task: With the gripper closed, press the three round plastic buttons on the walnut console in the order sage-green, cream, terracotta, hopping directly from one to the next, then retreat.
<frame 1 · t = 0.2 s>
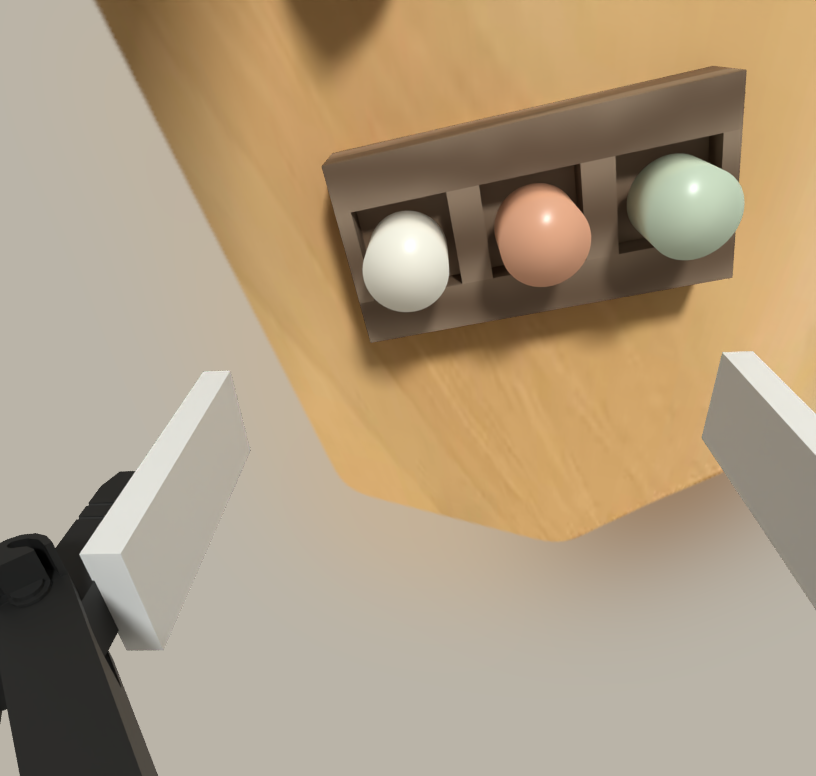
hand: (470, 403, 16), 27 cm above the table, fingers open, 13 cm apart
button terracotta: (539, 234, 34), point 7 cm above the table, slide at 0.0 cm
button cream: (407, 260, 36), point 7 cm above the table, slide at 0.0 cm
button sage: (681, 206, 33), point 7 cm above the table, slide at 0.0 cm
console: (524, 205, 40), on the table
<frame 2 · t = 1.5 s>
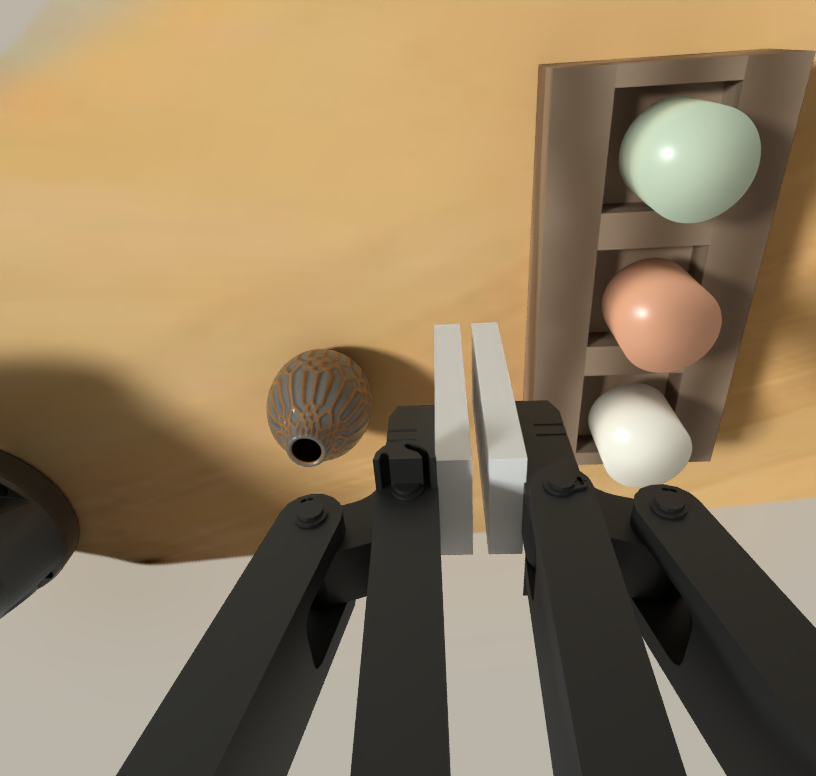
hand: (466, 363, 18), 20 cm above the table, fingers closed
vase: (328, 376, 42), on the table
button terracotta: (657, 314, 32), point 7 cm above the table, slide at 0.0 cm
button cream: (637, 434, 36), point 7 cm above the table, slide at 0.0 cm
button sage: (684, 158, 28), point 7 cm above the table, slide at 0.0 cm
console: (623, 272, 37), on the table
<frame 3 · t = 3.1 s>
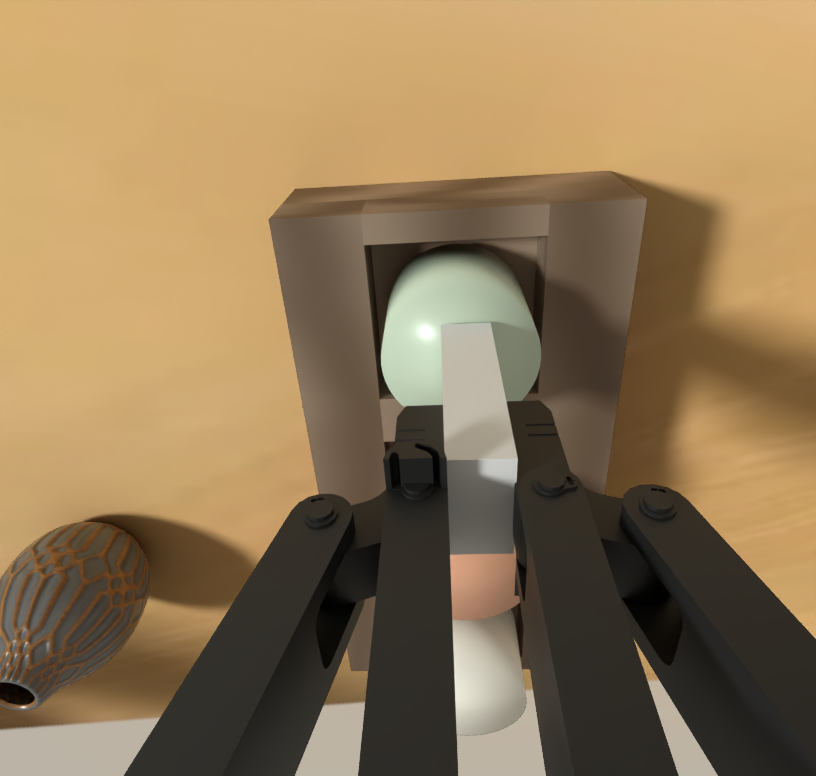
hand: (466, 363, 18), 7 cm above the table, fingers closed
vase: (107, 544, 33), on the table
button terracotta: (463, 534, 23), point 7 cm above the table, slide at 0.0 cm
button cream: (465, 661, 27), point 7 cm above the table, slide at 0.0 cm
button sage: (457, 333, 20), point 5 cm above the table, slide at 1.5 cm
console: (456, 435, 29), on the table
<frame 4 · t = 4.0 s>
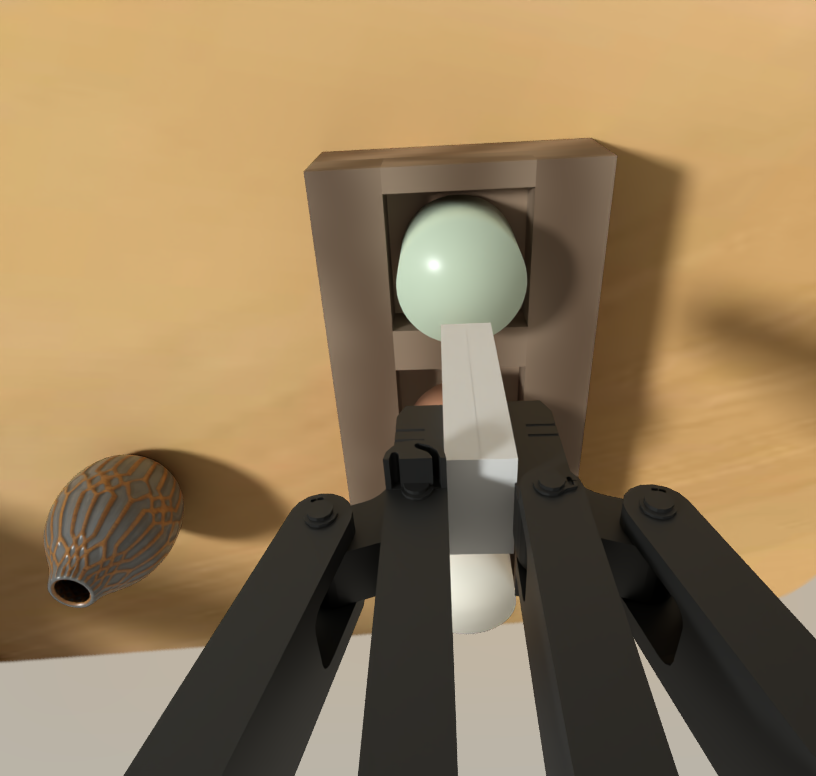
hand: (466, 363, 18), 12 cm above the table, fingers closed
vase: (145, 478, 37), on the table
button terracotta: (462, 449, 27), point 7 cm above the table, slide at 0.0 cm
button cream: (463, 570, 31), point 7 cm above the table, slide at 0.0 cm
button sage: (459, 267, 24), point 5 cm above the table, slide at 1.8 cm
console: (457, 376, 32), on the table
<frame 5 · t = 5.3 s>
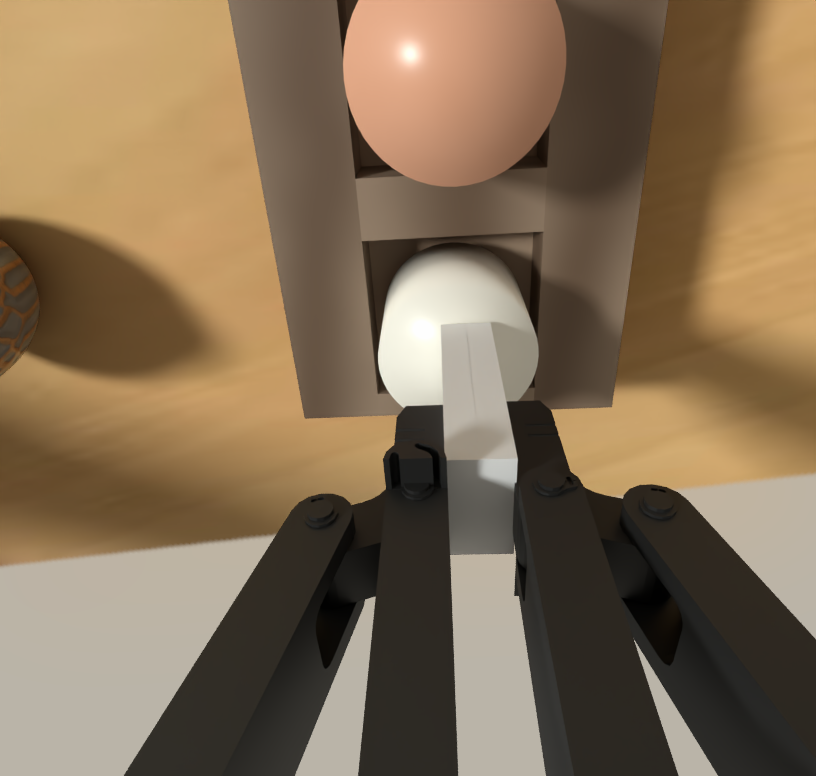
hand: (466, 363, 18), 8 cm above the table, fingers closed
button terracotta: (450, 67, 15), point 7 cm above the table, slide at 0.0 cm
button cream: (455, 332, 20), point 5 cm above the table, slide at 1.2 cm, touching gripper
console: (443, 58, 21), on the table
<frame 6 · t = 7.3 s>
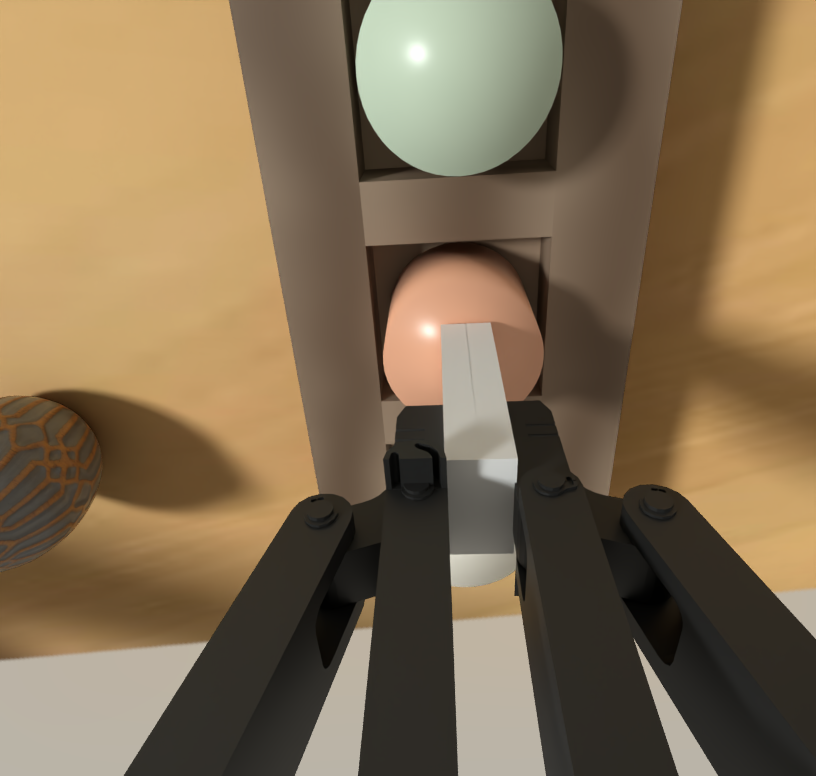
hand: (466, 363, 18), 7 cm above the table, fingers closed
vase: (55, 431, 29), on the table
button terracotta: (460, 332, 20), point 5 cm above the table, slide at 1.7 cm, touching gripper
button cream: (463, 506, 24), point 5 cm above the table, slide at 1.8 cm
button sage: (455, 65, 16), point 5 cm above the table, slide at 1.8 cm
console: (454, 280, 24), on the table
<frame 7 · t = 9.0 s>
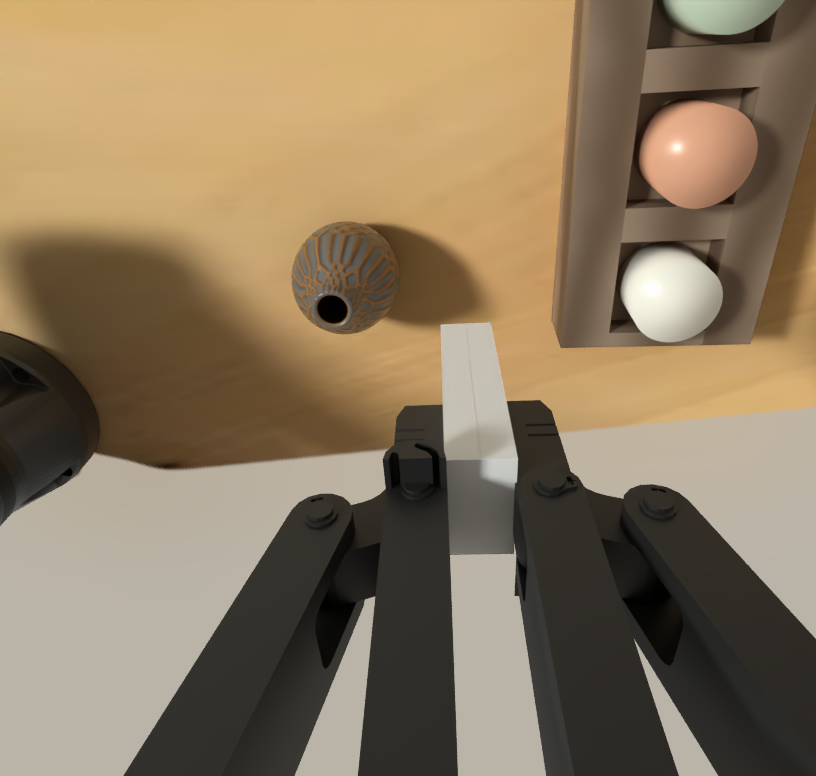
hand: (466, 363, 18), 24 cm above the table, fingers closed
vase: (354, 258, 42), on the table
button terracotta: (691, 152, 32), point 5 cm above the table, slide at 1.8 cm
button cream: (666, 291, 36), point 5 cm above the table, slide at 1.8 cm
console: (664, 138, 36), on the table
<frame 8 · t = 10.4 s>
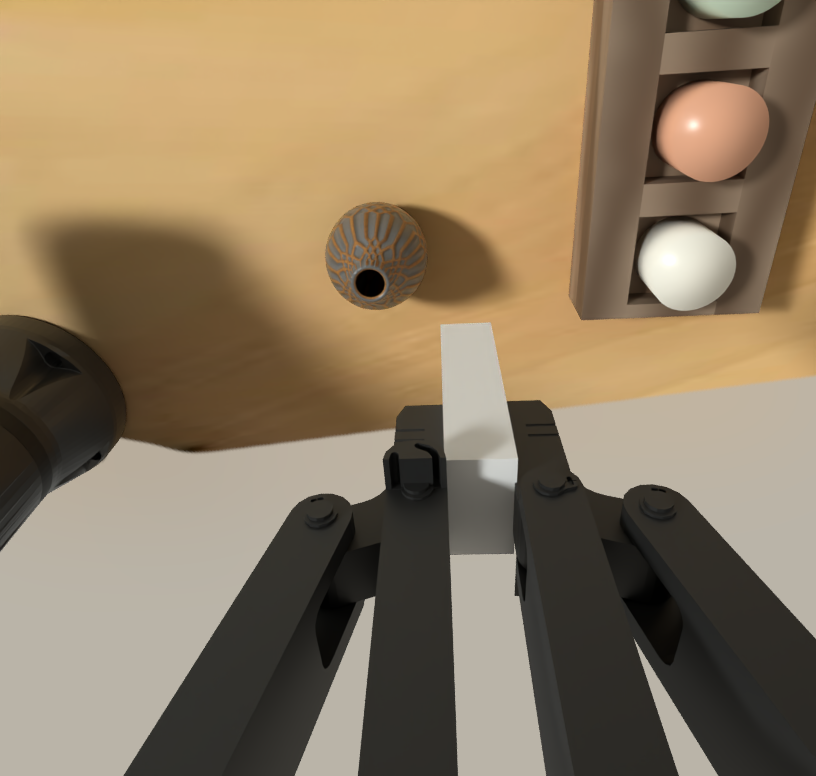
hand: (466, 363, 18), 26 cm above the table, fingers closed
vase: (381, 239, 43), on the table
button terracotta: (706, 130, 34), point 5 cm above the table, slide at 1.8 cm
button cream: (681, 262, 38), point 5 cm above the table, slide at 1.8 cm
console: (676, 119, 38), on the table
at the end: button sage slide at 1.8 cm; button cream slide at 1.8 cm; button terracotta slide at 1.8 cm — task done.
